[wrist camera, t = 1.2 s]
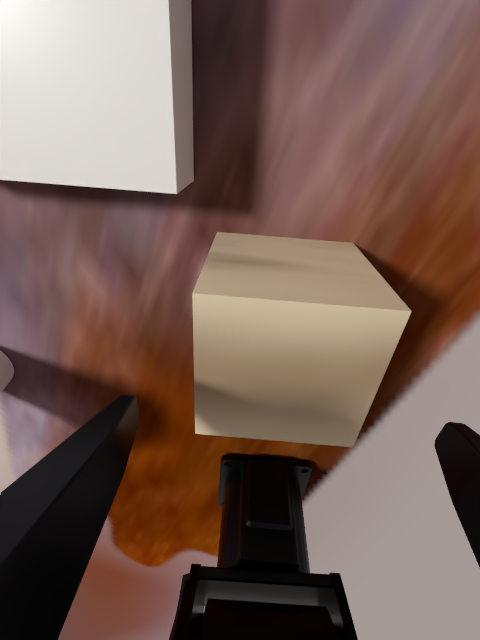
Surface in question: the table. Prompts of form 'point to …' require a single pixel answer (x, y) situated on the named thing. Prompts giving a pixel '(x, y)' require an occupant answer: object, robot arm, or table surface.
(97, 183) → the plinth
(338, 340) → the maple cube
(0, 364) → the smoothie
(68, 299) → the table surface
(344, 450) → the table surface
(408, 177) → the table surface
